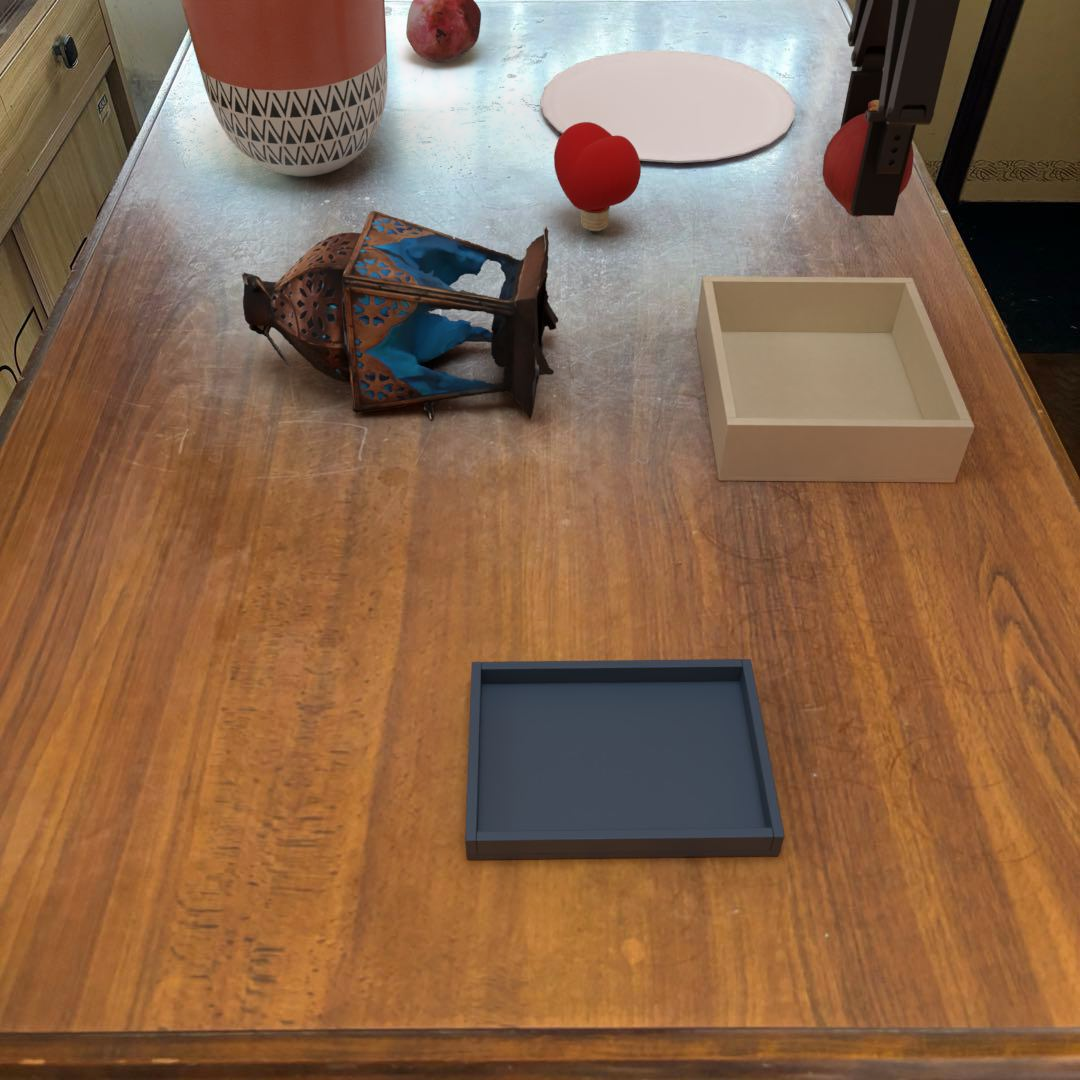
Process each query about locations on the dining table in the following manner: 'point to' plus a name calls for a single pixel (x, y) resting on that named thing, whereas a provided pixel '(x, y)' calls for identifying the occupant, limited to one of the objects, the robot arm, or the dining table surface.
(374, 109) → the planter
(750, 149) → the plate
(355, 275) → the lantern
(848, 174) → the onion
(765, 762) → the tray
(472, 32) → the fruit
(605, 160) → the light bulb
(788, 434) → the beige open rectangular box
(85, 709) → the dining table surface
